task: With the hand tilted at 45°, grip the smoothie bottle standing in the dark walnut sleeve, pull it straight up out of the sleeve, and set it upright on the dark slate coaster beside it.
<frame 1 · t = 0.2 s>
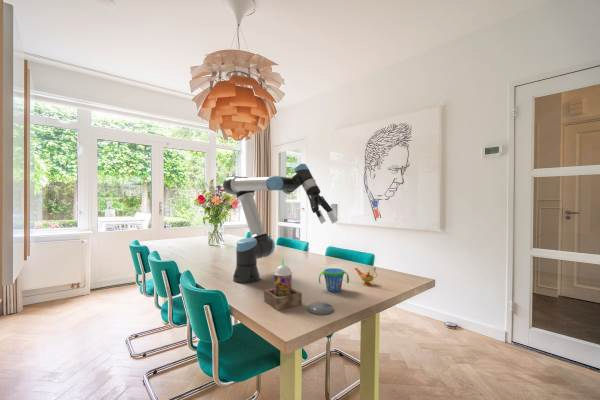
hand: (329, 222, 147), 35 cm above the table, tool tilted 35°, fingers open, 13 cm apart
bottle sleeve: (282, 302, 127), on the table
snack cup: (333, 290, 145), on the table
smoothie: (282, 303, 127), resting in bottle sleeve
magic lamp: (364, 283, 156), on the table
slate coaster: (320, 309, 119), on the table
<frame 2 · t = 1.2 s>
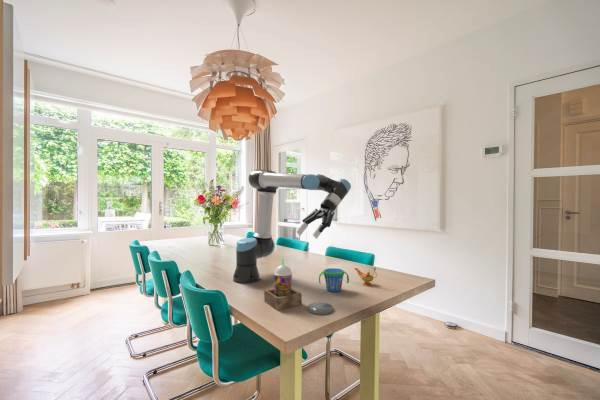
hand: (306, 235, 134), 30 cm above the table, tool tilted 45°, fingers open, 13 cm apart
nothing on the table moved.
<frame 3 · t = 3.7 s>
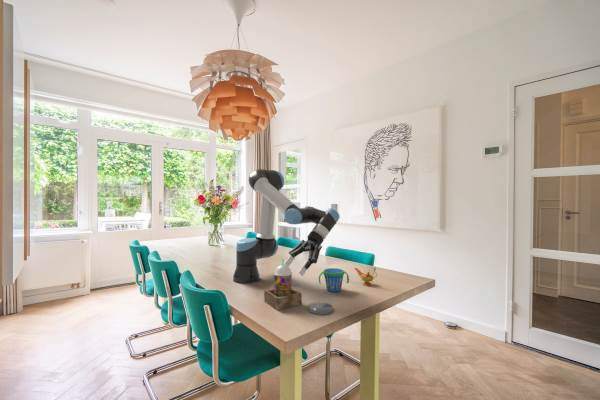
hand: (291, 270, 128), 14 cm above the table, tool tilted 45°, fingers open, 13 cm apart
nothing on the table moved.
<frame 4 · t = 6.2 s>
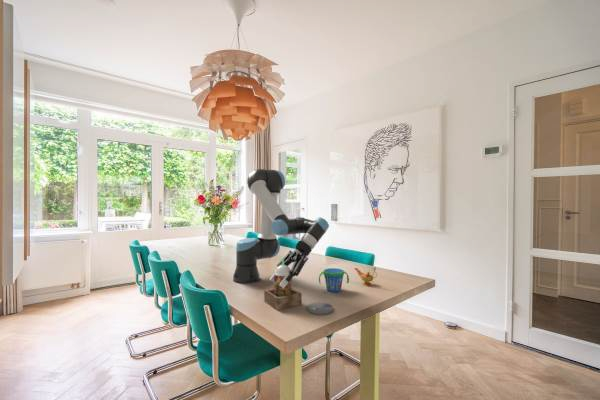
hand: (276, 283, 125), 9 cm above the table, tool tilted 45°, fingers closed on smoothie, 8 cm apart
smoothie: (282, 303, 127), resting in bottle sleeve, touching gripper
everything else where it was.
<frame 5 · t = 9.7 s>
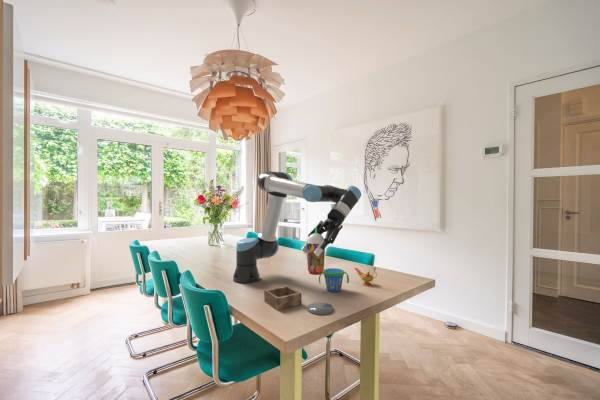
hand: (309, 252, 118), 25 cm above the table, tool tilted 45°, fingers closed on smoothie, 8 cm apart
smoothie: (315, 273, 120), point 15 cm above the table, touching gripper
everything else where it was.
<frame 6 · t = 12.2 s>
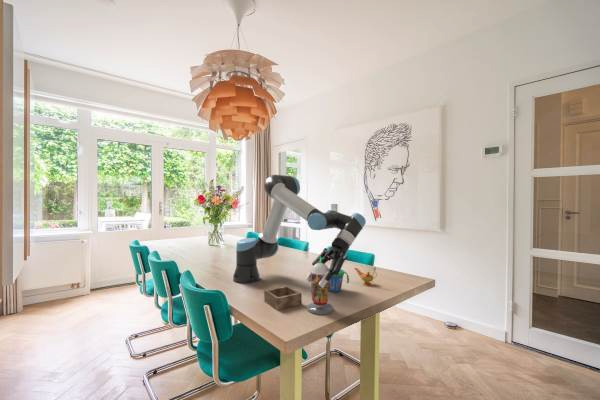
hand: (314, 283, 117), 12 cm above the table, tool tilted 45°, fingers closed on smoothie, 8 cm apart
smoothie: (320, 303, 119), point 2 cm above the table, touching gripper
everything else where it was.
when the fingers open (12 cm above the table, at t = 13.1 s): smoothie drops 1 cm, resting on slate coaster.
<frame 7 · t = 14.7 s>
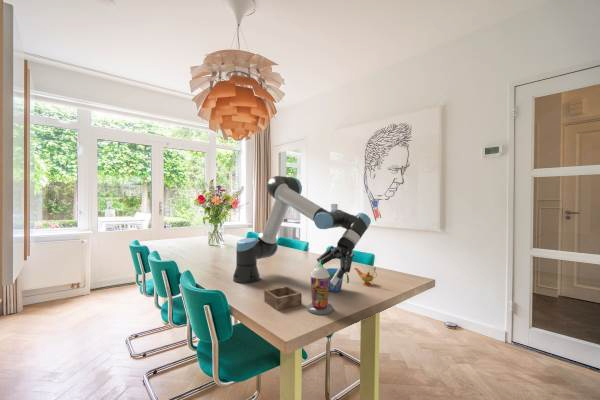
hand: (322, 279, 119), 13 cm above the table, tool tilted 45°, fingers open, 13 cm apart
smoothie: (319, 307, 120), point 1 cm above the table, touching slate coaster
everything else where it was.
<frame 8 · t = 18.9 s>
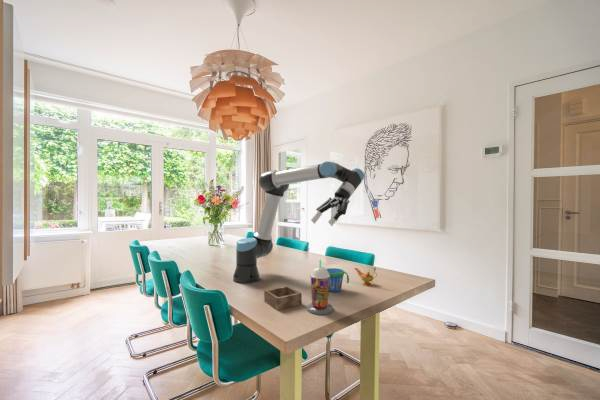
hand: (321, 222, 136), 36 cm above the table, tool tilted 45°, fingers open, 13 cm apart
nothing on the table moved.
at the end: smoothie 0.1 cm from the slate coaster (horizontally); smoothie tilted 0°; the gripper is holding nothing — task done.
